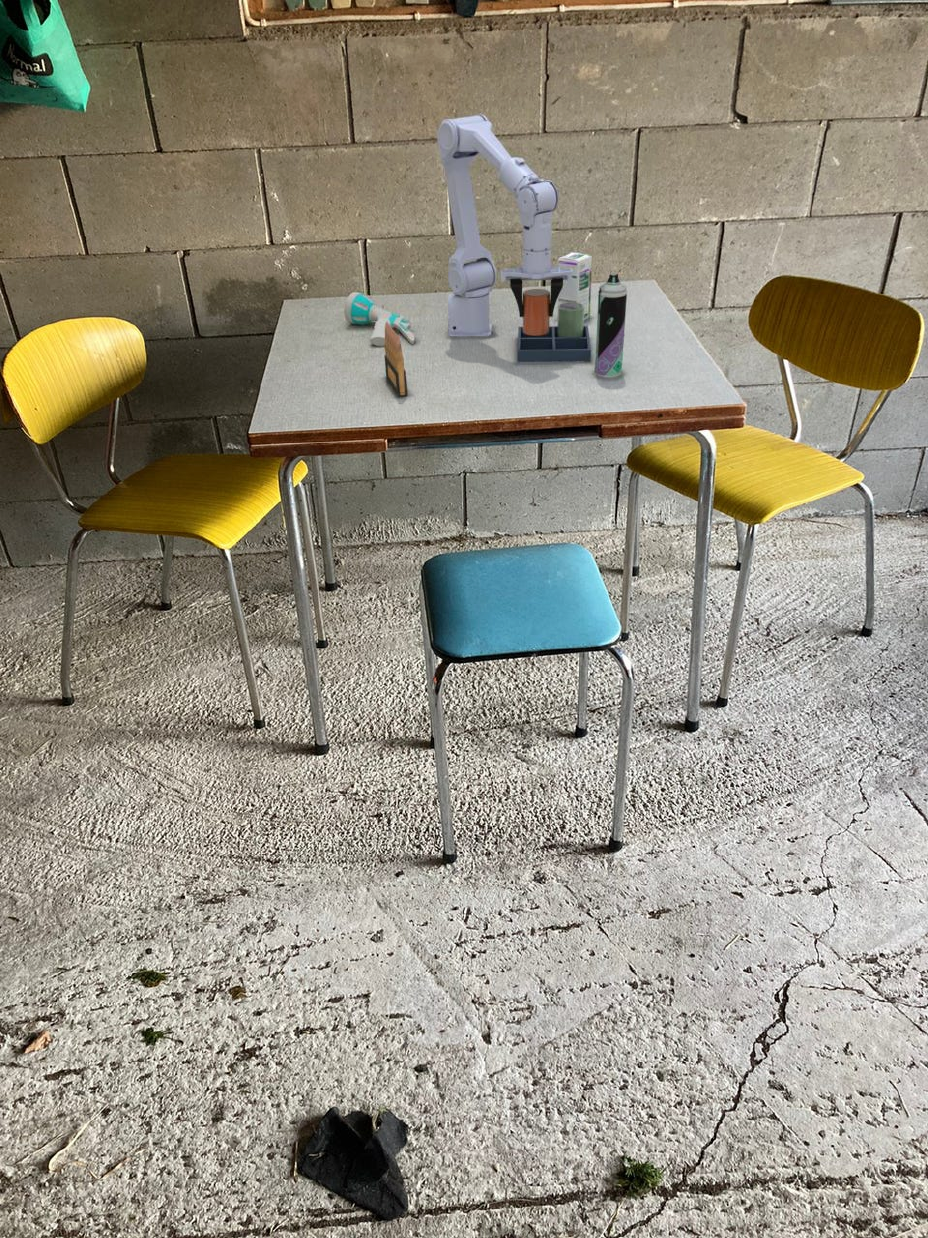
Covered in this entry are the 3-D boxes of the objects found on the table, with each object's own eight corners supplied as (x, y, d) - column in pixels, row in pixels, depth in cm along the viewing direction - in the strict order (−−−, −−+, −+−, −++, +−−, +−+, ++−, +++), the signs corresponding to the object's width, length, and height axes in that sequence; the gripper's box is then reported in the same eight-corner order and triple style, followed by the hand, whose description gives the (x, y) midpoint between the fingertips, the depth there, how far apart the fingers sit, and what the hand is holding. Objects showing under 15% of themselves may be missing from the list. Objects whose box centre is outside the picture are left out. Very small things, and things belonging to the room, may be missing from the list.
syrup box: (577, 324, 218) (580, 260, 210) (556, 320, 221) (557, 256, 213) (590, 318, 222) (593, 254, 214) (569, 314, 225) (571, 250, 217)
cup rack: (517, 364, 199) (517, 350, 198) (518, 339, 212) (518, 326, 210) (590, 363, 198) (591, 349, 196) (587, 338, 211) (587, 325, 209)
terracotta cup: (522, 335, 197) (522, 296, 192) (522, 326, 201) (523, 288, 196) (549, 335, 196) (550, 296, 192) (549, 326, 201) (549, 288, 196)
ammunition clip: (407, 395, 187) (403, 336, 180) (398, 397, 187) (394, 337, 180) (394, 377, 195) (390, 319, 188) (386, 378, 195) (381, 320, 188)
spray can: (604, 381, 190) (610, 279, 178) (589, 372, 194) (593, 273, 182) (626, 375, 192) (633, 275, 180) (611, 367, 196) (617, 268, 184)
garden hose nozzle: (414, 328, 208) (420, 291, 223) (335, 323, 208) (346, 286, 223) (413, 358, 213) (419, 320, 228) (336, 353, 213) (347, 315, 227)
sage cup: (557, 347, 205) (558, 310, 201) (556, 338, 210) (557, 301, 205) (583, 346, 205) (584, 309, 200) (582, 338, 209) (583, 301, 205)
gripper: (500, 253, 186) (500, 321, 194) (573, 252, 185) (571, 321, 193) (501, 244, 192) (501, 311, 200) (572, 243, 191) (570, 310, 199)
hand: (535, 315), depth 197 cm, fingers closed on terracotta cup, 5 cm apart
